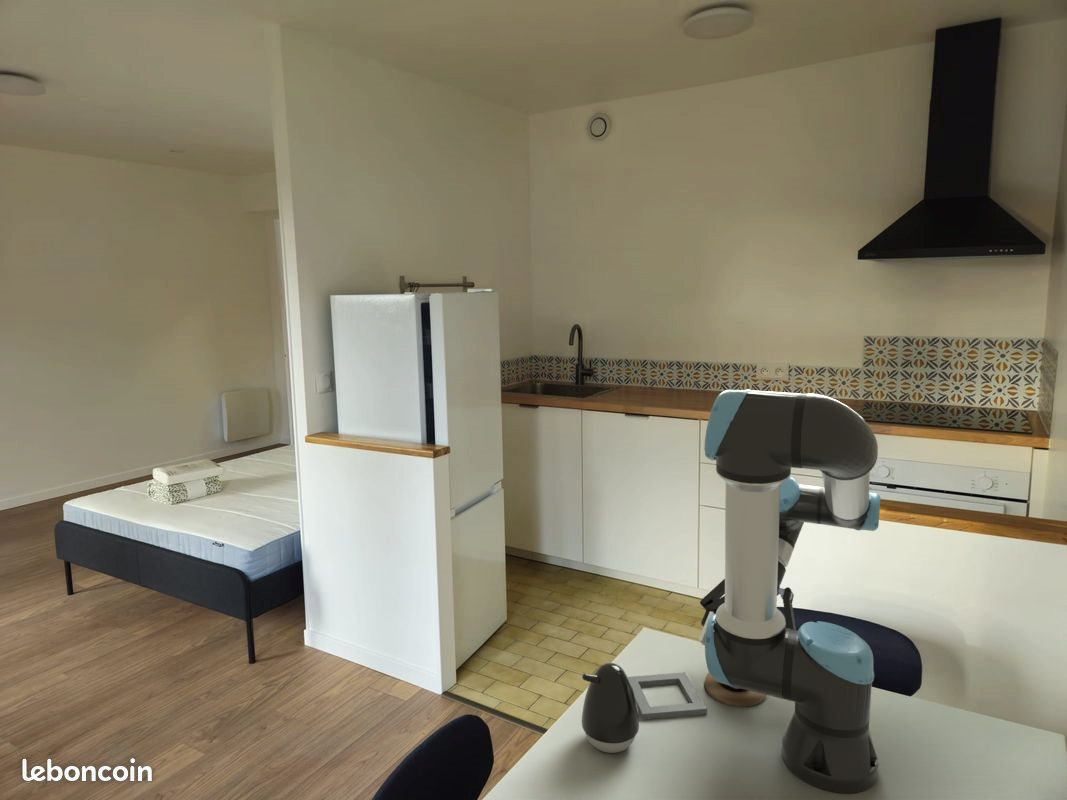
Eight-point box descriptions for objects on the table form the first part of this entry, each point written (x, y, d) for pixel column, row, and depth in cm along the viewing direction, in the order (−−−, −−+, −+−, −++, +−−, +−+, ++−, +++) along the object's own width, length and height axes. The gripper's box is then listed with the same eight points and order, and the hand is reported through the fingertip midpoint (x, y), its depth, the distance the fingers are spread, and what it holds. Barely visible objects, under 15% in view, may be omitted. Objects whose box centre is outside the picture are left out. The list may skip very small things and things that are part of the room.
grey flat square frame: (706, 714, 133) (707, 708, 132) (642, 719, 131) (642, 714, 131) (684, 677, 145) (685, 672, 145) (626, 682, 143) (626, 677, 143)
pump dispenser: (572, 731, 128) (572, 655, 125) (624, 720, 131) (624, 646, 128) (593, 767, 118) (593, 686, 116) (648, 755, 121) (650, 675, 119)
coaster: (776, 703, 136) (777, 699, 135) (717, 708, 134) (717, 704, 134) (750, 670, 147) (750, 666, 147) (696, 674, 146) (696, 670, 146)
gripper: (833, 585, 141) (799, 685, 132) (720, 554, 157) (684, 640, 149) (824, 568, 136) (788, 671, 128) (709, 538, 153) (671, 626, 144)
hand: (732, 654), depth 138 cm, fingers open, 13 cm apart
